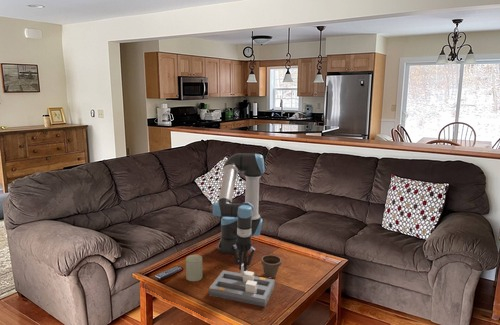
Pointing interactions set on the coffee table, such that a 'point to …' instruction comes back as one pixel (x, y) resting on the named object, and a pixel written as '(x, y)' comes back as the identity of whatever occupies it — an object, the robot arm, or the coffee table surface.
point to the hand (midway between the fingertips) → (242, 275)
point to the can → (194, 267)
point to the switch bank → (241, 288)
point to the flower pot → (270, 265)
